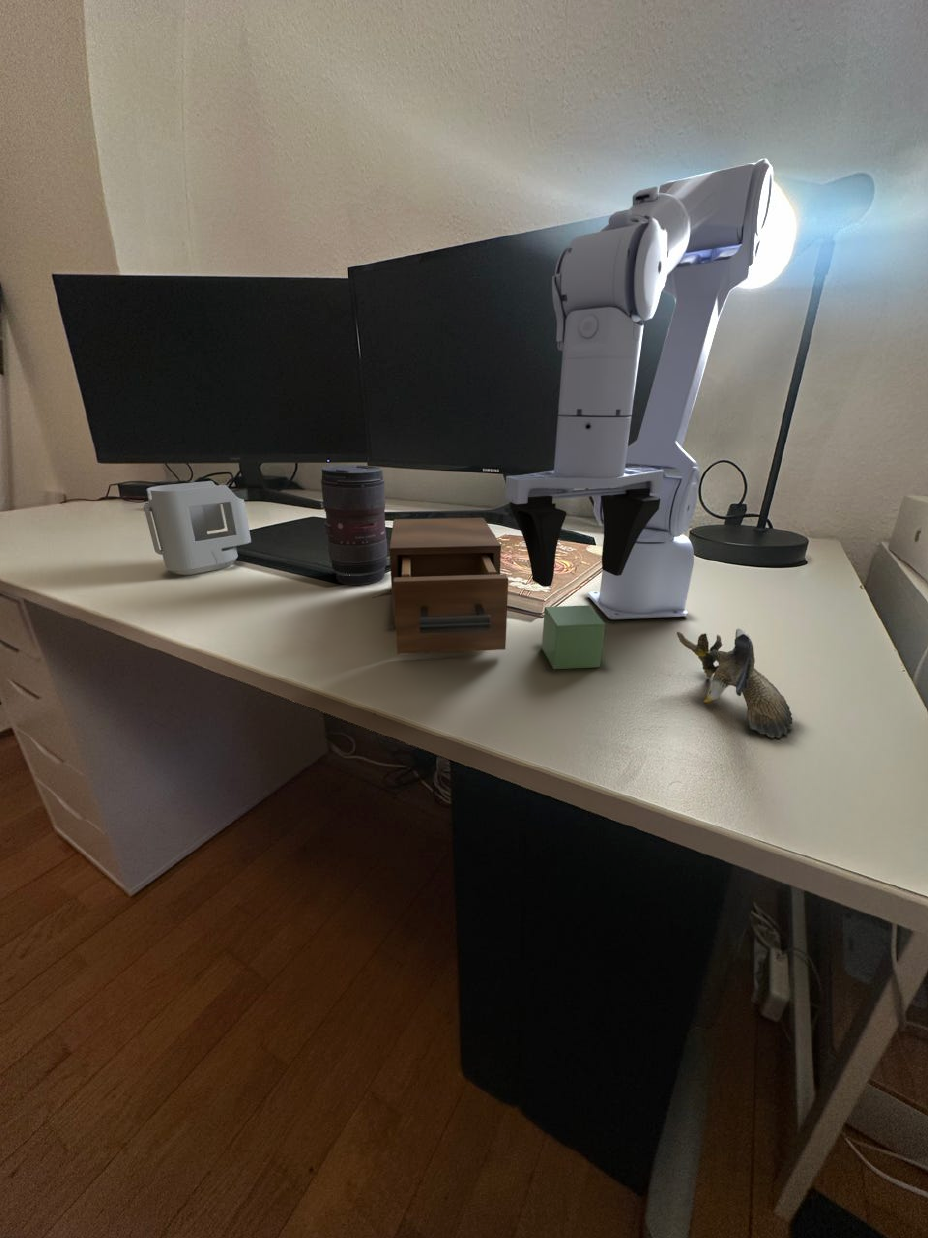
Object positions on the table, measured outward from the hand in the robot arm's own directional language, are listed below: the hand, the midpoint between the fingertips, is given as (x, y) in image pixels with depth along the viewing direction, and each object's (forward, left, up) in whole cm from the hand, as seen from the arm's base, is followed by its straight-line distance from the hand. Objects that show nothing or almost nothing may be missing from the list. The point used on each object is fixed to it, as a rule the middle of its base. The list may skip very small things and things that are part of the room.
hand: (577, 577), depth 45 cm
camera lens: (+22, -26, -8) cm, 35 cm away
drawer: (+12, -4, -7) cm, 14 cm away
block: (0, 0, -8) cm, 8 cm away
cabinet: (+11, -15, -8) cm, 21 cm away
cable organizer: (+45, -33, -8) cm, 56 cm away
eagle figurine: (-11, +9, -8) cm, 17 cm away
